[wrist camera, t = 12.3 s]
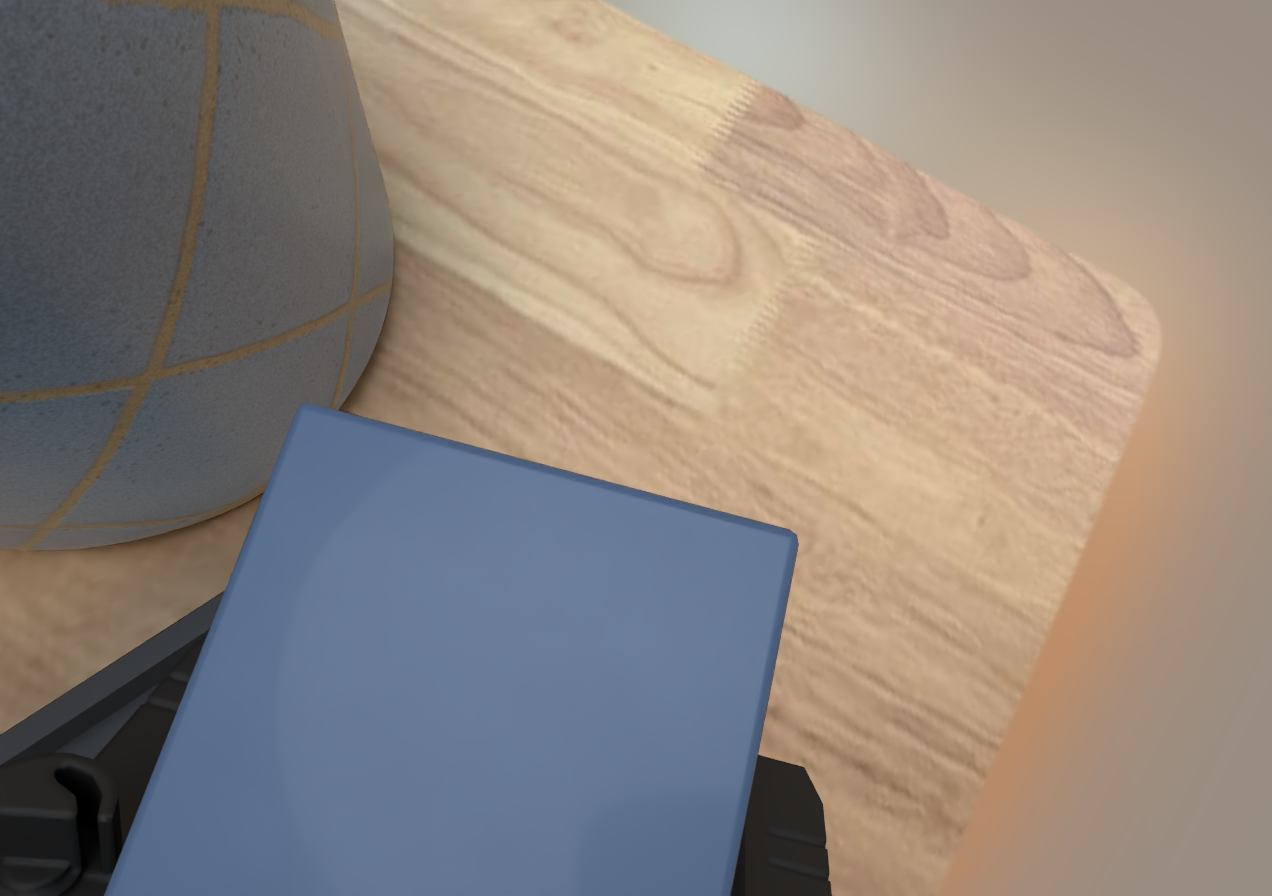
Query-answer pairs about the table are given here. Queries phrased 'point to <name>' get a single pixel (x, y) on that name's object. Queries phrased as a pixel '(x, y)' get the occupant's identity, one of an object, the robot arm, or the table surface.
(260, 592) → the eraser
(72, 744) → the tray
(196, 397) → the planter
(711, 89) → the table surface
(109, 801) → the robot arm
